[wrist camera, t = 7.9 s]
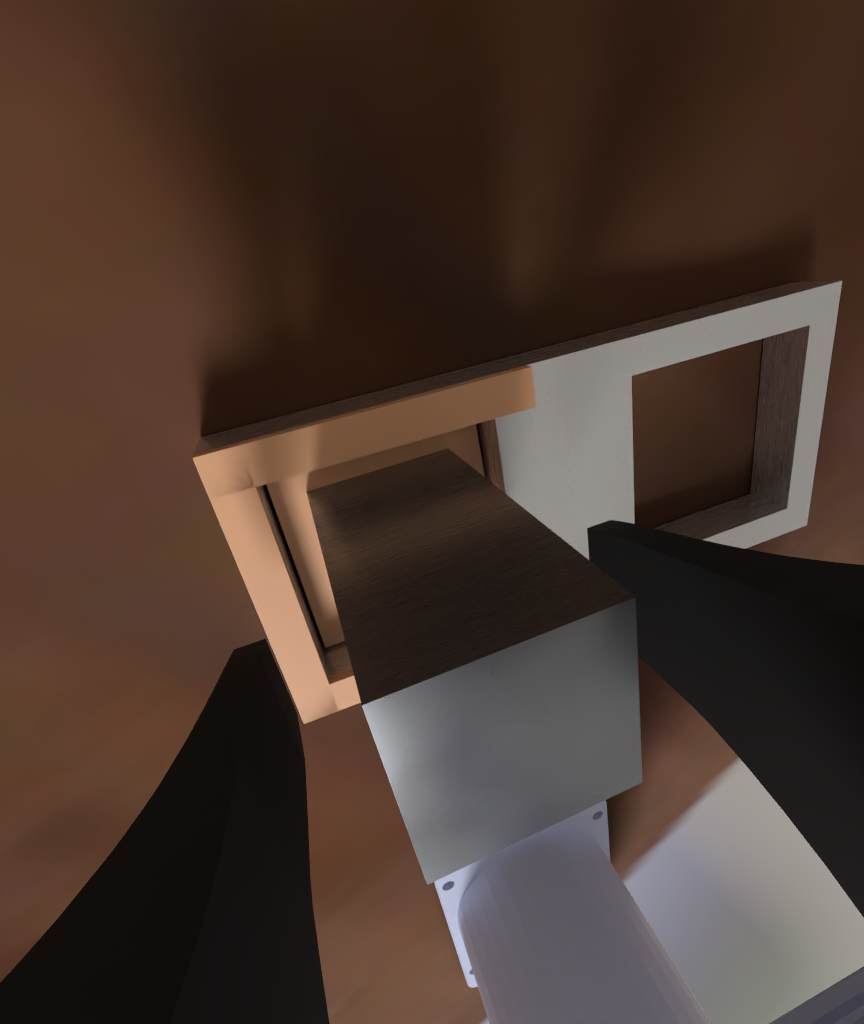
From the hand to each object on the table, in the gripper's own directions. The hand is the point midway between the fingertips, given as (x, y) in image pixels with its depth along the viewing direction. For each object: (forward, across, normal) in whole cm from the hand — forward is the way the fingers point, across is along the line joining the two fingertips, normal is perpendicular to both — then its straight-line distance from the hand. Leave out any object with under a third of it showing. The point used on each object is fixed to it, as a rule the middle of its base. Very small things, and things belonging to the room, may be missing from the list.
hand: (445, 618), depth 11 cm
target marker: (+5, 0, 0) cm, 5 cm away
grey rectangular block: (+4, 0, 0) cm, 4 cm away
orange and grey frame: (+5, -5, 0) cm, 7 cm away
